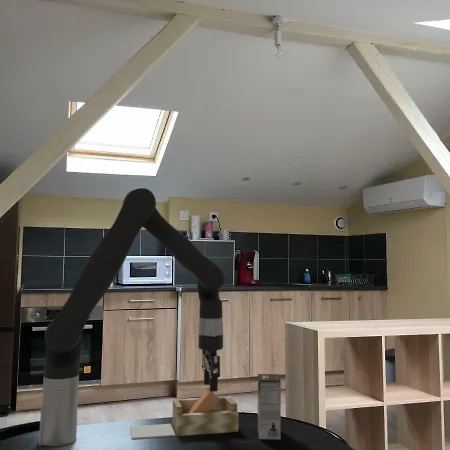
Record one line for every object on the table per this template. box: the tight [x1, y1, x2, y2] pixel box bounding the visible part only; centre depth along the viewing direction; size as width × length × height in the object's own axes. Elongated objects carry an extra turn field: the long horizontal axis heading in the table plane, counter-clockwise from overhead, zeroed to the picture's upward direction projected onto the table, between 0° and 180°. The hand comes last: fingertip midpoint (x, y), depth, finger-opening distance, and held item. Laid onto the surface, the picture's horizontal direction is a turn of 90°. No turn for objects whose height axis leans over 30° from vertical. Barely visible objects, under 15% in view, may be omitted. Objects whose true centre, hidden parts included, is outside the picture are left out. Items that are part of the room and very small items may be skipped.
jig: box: [171, 395, 240, 437], centre depth 139 cm, size 18×10×8 cm, turn 104°
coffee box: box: [257, 373, 282, 440], centre depth 135 cm, size 9×6×16 cm
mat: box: [129, 423, 176, 440], centre depth 135 cm, size 12×10×1 cm
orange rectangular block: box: [186, 387, 219, 414], centre depth 139 cm, size 12×4×4 cm
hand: (210, 387), depth 140 cm, fingers open, 8 cm apart
